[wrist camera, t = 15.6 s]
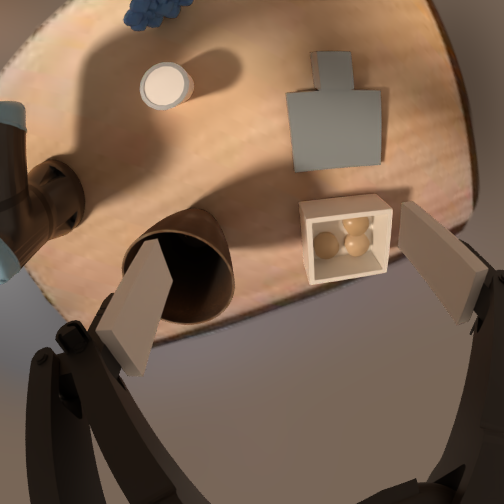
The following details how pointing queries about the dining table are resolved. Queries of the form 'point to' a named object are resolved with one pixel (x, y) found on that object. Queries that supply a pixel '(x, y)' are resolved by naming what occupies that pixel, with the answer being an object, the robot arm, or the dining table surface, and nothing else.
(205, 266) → the plant pot
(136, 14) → the grapes
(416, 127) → the dining table surface
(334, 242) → the tub
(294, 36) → the dining table surface
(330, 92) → the lid
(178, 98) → the beige cup
